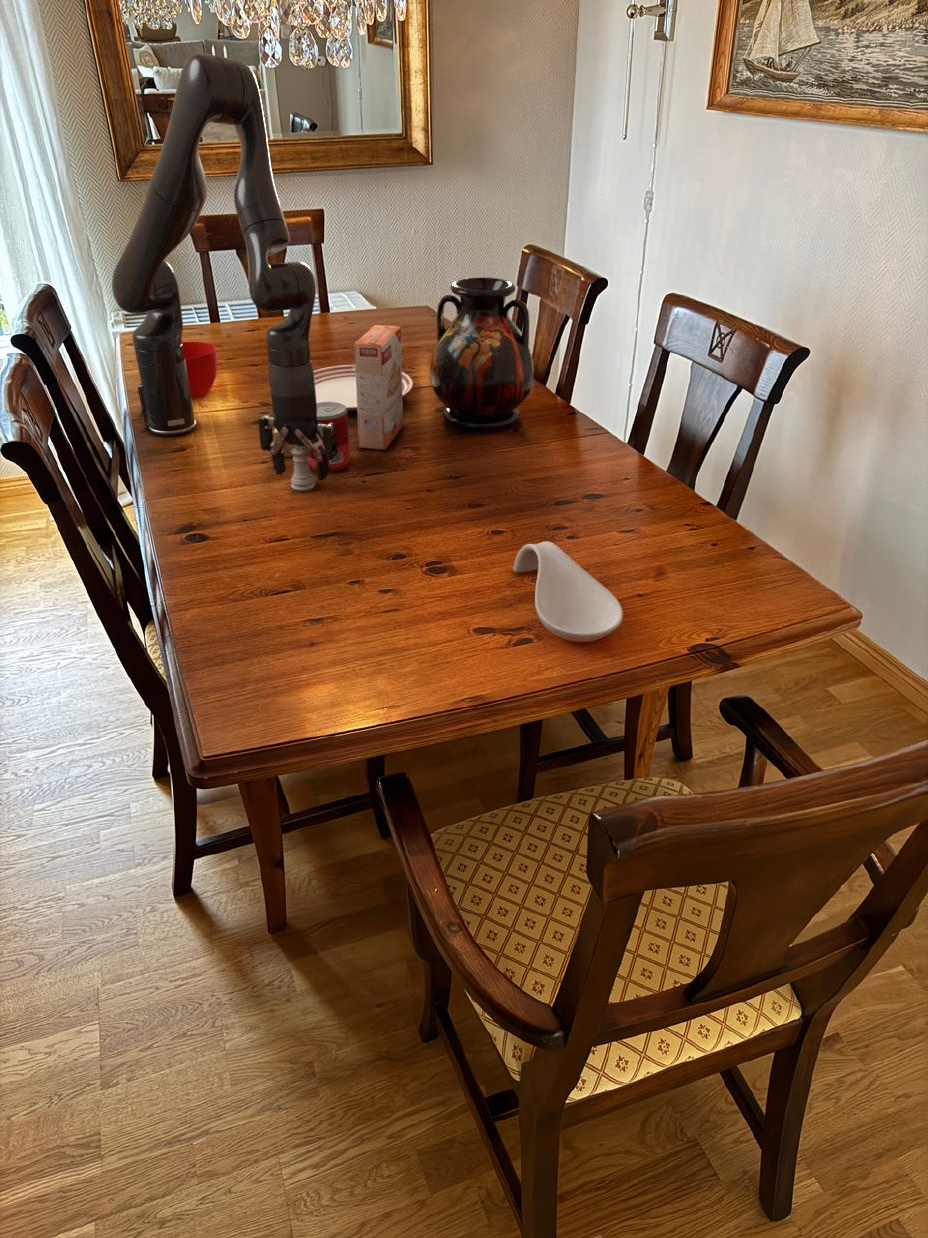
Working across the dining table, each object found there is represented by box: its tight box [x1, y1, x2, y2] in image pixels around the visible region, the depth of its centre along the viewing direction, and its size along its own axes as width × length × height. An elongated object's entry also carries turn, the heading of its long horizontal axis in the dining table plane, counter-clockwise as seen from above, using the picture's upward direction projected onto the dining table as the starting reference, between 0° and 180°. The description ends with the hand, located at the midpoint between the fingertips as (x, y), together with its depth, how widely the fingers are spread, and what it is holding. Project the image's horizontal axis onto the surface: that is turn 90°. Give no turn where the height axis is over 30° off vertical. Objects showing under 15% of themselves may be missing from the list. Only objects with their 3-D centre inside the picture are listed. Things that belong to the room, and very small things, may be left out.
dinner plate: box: [313, 364, 414, 412], centre depth 202 cm, size 28×27×3 cm
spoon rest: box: [512, 541, 624, 643], centre depth 126 cm, size 24×12×7 cm, turn 21°
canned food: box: [307, 402, 351, 473], centre depth 168 cm, size 8×8×11 cm
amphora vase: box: [429, 276, 535, 433], centre depth 184 cm, size 22×22×28 cm
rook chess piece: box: [290, 444, 316, 492], centre depth 160 cm, size 4×4×8 cm
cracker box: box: [353, 324, 404, 451], centre depth 177 cm, size 14×6×21 cm, turn 168°
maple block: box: [272, 427, 297, 458], centre depth 175 cm, size 5×5×5 cm
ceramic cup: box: [182, 341, 218, 399], centre depth 204 cm, size 13×17×10 cm
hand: (301, 475), depth 161 cm, fingers open, 8 cm apart
